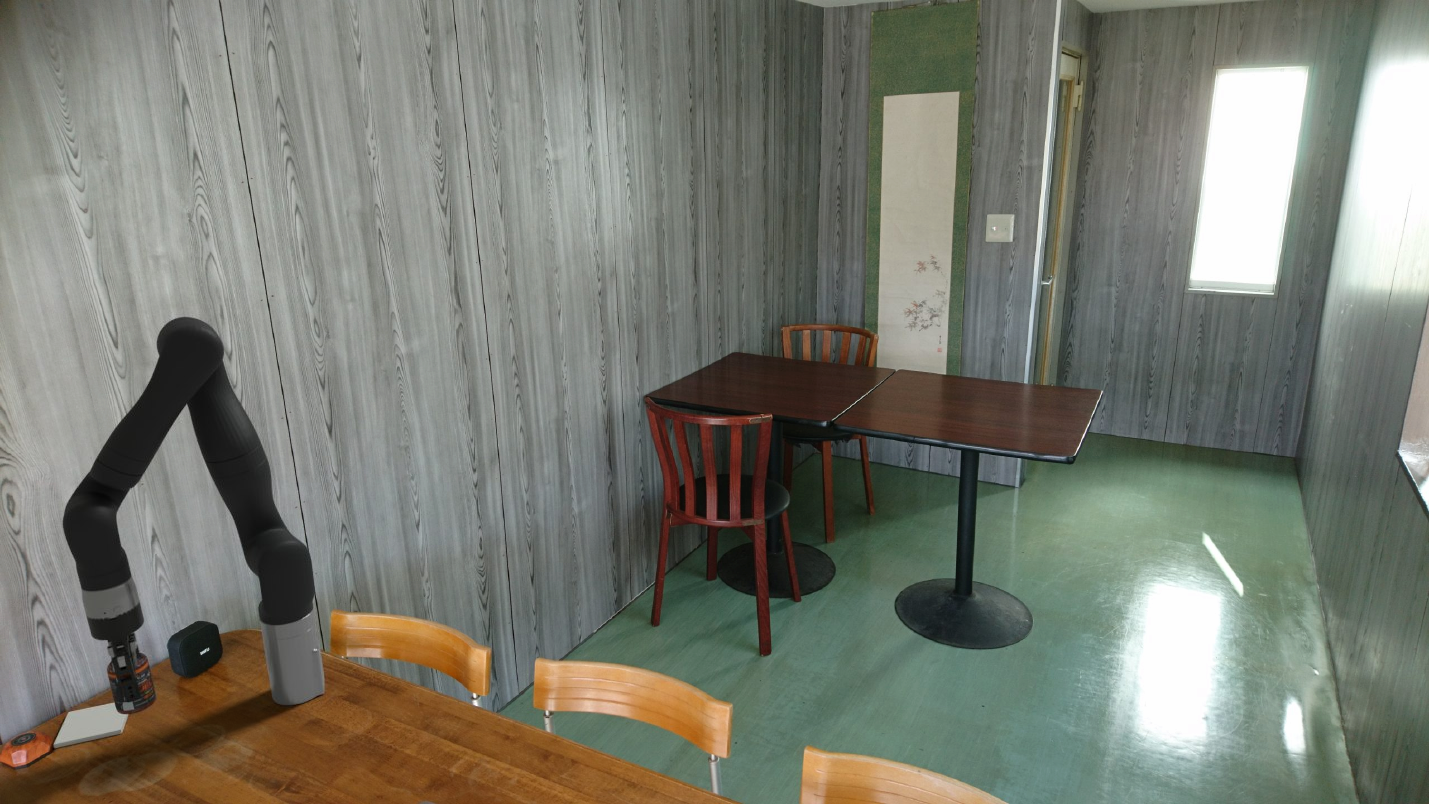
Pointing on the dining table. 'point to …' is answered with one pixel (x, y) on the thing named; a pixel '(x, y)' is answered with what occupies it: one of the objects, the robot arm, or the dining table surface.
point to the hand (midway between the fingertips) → (133, 690)
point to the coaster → (90, 725)
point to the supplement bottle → (143, 681)
